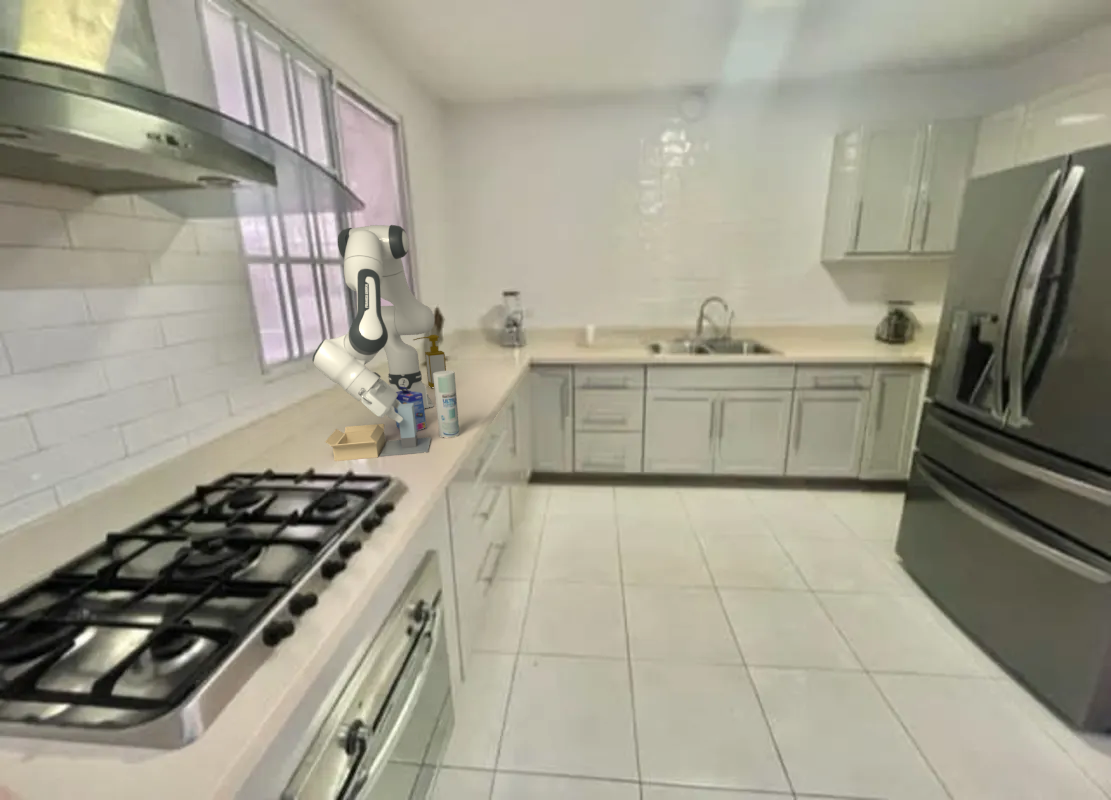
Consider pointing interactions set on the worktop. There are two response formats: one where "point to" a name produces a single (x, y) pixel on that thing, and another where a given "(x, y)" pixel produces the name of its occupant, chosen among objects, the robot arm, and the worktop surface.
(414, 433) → the blue-grey rectangular block
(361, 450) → the carton
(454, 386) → the spray can
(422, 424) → the ink cartridge box
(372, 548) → the worktop surface
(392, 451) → the plate
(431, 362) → the soap bottle
